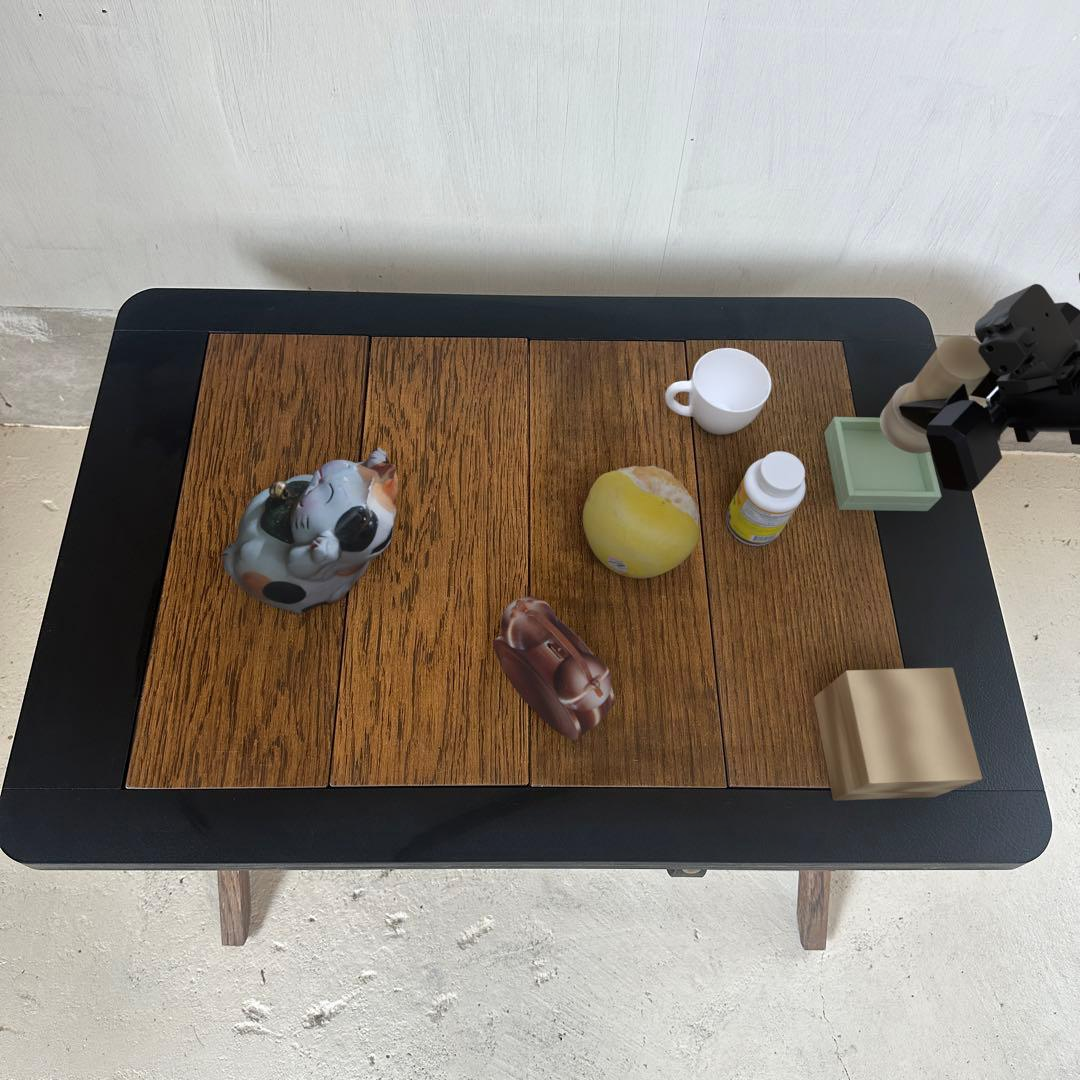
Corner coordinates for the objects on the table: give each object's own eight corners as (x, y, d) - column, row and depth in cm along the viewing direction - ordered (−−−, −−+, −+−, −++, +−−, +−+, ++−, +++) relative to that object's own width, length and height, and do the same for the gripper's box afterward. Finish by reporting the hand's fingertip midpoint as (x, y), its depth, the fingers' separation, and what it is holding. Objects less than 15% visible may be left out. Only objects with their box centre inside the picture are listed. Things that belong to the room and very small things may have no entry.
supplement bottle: (747, 488, 86) (777, 432, 76) (791, 523, 84) (827, 470, 75) (712, 522, 84) (739, 469, 74) (757, 559, 82) (789, 509, 73)
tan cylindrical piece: (954, 444, 77) (1014, 376, 68) (898, 460, 76) (952, 393, 67) (922, 394, 79) (976, 322, 70) (868, 409, 78) (915, 338, 69)
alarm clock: (609, 722, 74) (635, 670, 61) (569, 759, 73) (586, 713, 59) (527, 633, 78) (534, 564, 64) (487, 666, 76) (485, 603, 63)
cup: (757, 449, 88) (777, 412, 82) (662, 449, 87) (674, 411, 81) (747, 388, 91) (765, 347, 85) (655, 388, 91) (666, 347, 84)
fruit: (680, 604, 80) (703, 559, 71) (568, 579, 80) (577, 531, 71) (695, 511, 84) (719, 458, 75) (589, 488, 85) (600, 432, 76)
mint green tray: (909, 434, 89) (922, 418, 87) (928, 511, 85) (942, 496, 83) (823, 432, 89) (833, 416, 86) (838, 510, 85) (849, 495, 82)
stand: (910, 694, 77) (953, 667, 70) (935, 797, 73) (983, 779, 66) (813, 697, 76) (846, 670, 69) (832, 800, 72) (869, 783, 65)
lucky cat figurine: (285, 467, 84) (334, 383, 74) (386, 538, 86) (446, 466, 76) (194, 572, 74) (236, 491, 64) (311, 649, 76) (369, 583, 66)
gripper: (1150, 228, 62) (949, 257, 75) (1018, 369, 55) (823, 374, 68) (1173, 361, 66) (980, 366, 79) (1053, 505, 60) (865, 485, 73)
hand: (916, 394), depth 75 cm, fingers closed on tan cylindrical piece, 4 cm apart
